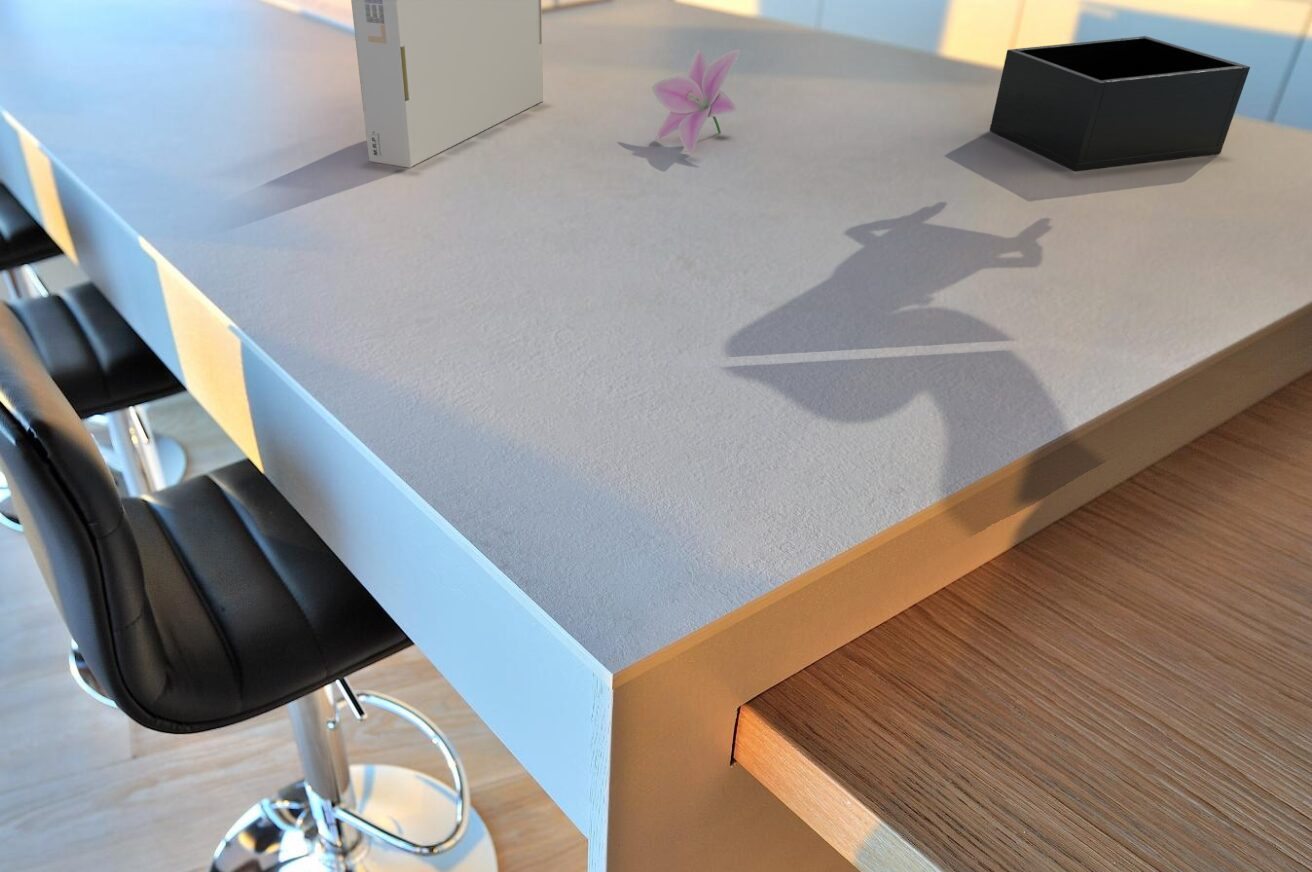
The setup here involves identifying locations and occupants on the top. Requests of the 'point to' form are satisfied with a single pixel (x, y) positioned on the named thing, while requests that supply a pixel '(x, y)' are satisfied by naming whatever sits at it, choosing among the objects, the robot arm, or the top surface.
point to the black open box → (1117, 101)
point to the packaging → (443, 71)
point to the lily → (695, 97)
